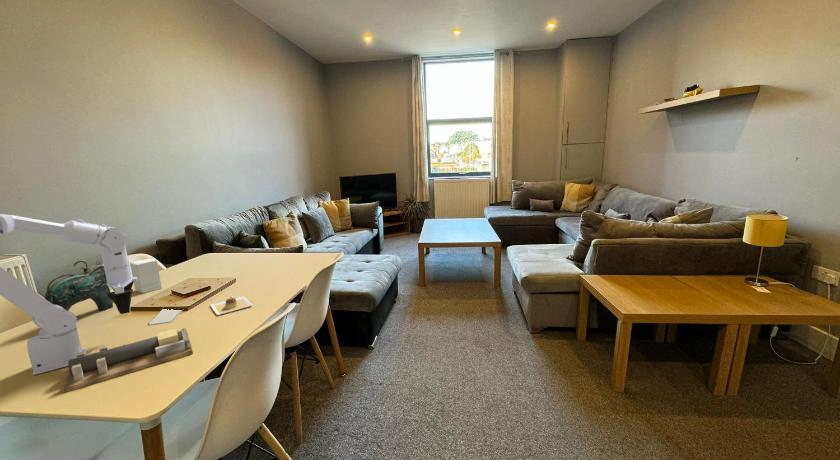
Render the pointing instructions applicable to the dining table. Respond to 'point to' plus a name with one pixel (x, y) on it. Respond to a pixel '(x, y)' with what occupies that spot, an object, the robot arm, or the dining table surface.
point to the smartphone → (165, 316)
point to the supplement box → (146, 275)
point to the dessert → (230, 304)
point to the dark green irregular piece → (81, 288)
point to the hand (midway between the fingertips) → (125, 308)
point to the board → (127, 363)
